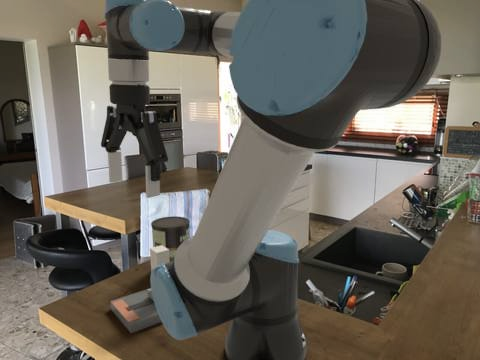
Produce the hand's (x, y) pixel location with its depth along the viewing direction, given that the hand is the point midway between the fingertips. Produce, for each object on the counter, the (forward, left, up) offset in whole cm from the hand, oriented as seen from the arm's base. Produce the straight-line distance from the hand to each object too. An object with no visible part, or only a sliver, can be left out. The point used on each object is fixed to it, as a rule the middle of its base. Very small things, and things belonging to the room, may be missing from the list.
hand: (133, 188), depth 81 cm
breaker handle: (0, -5, -26) cm, 27 cm away
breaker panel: (0, -5, -29) cm, 29 cm away
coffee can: (+16, -16, -29) cm, 37 cm away
